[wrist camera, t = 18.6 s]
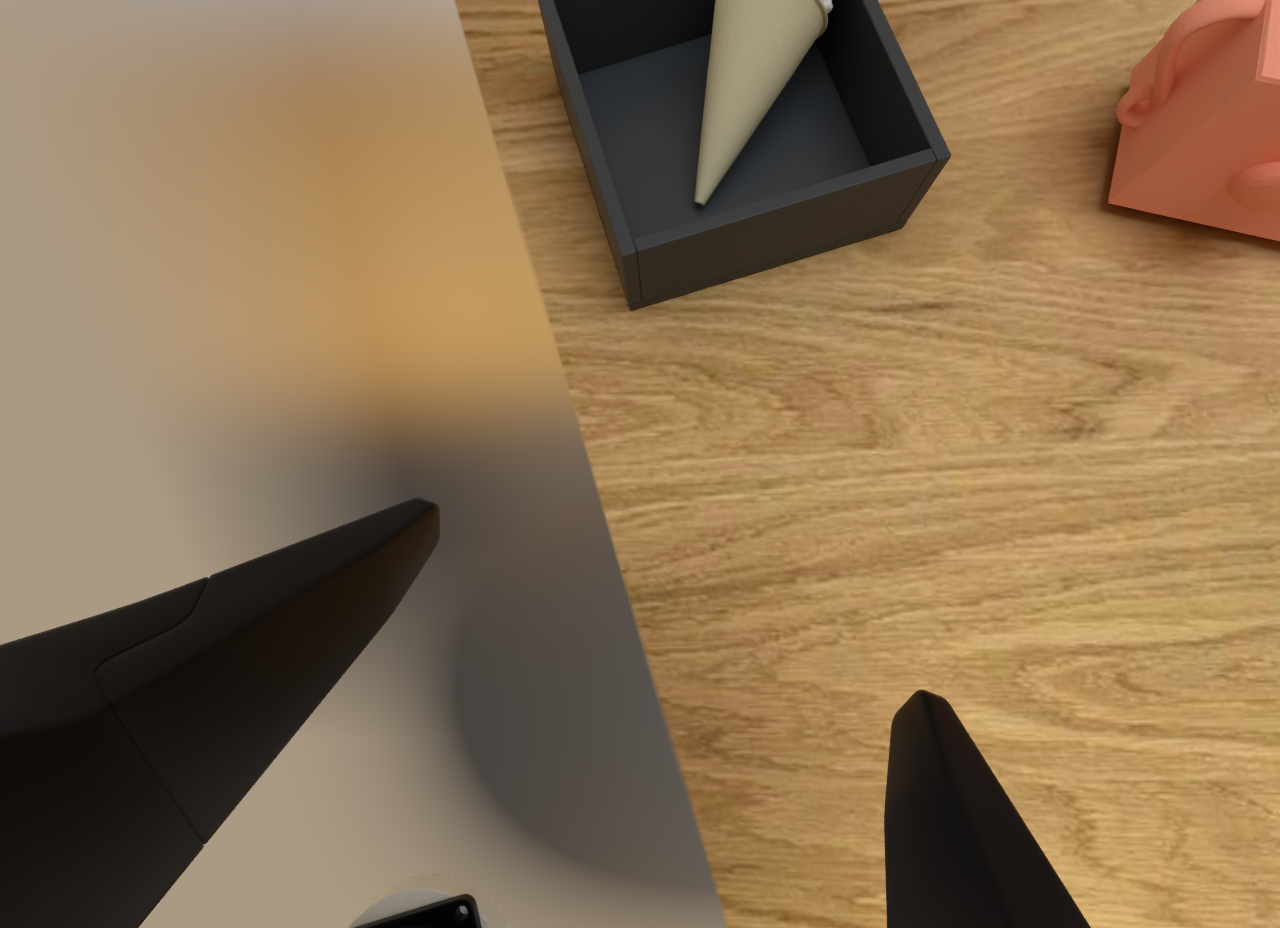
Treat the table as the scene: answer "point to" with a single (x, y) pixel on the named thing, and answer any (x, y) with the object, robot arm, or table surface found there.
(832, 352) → the table surface
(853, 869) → the table surface
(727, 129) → the ice cream cone
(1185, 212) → the teapot
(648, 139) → the storage bin
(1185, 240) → the table surface
